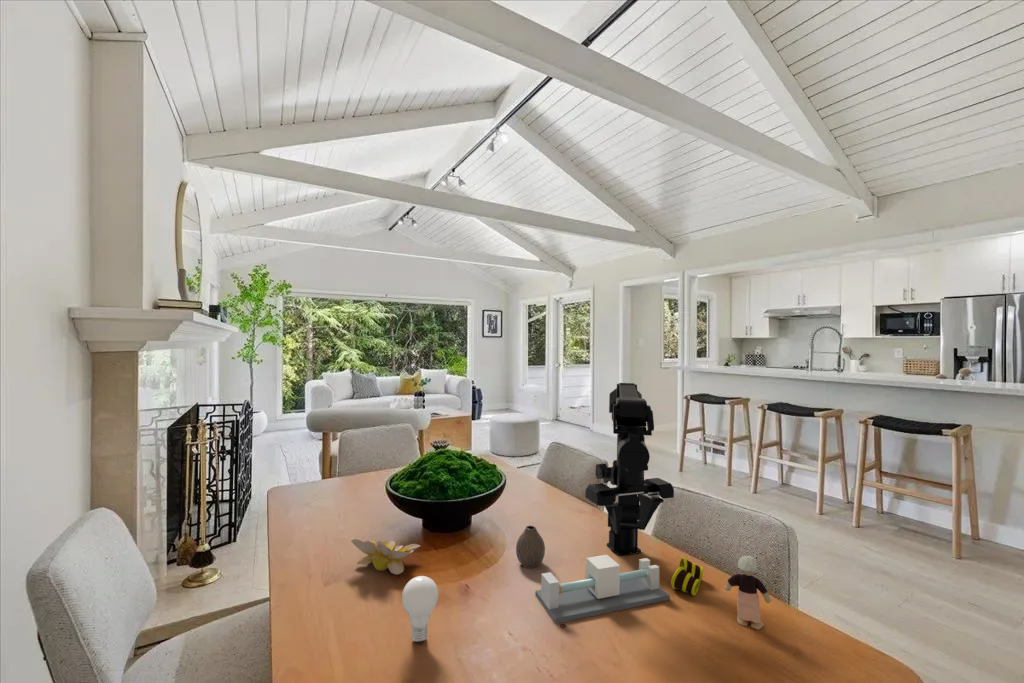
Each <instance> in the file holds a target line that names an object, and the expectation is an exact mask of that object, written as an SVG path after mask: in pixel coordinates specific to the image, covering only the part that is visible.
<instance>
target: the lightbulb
mask: <svg viewBox="0 0 1024 683" xmlns="http://www.w3.org/2000/svg"><path fill="white" fill-rule="evenodd" d="M438 600H439V588H438V585H437V584H436V582H435V581H434V580H433V579H432V578H431V577H428V576H426V575H417V576H415V577H413V578H412V579H410V580H408V582H407V583H406V584H405V586H404V587H403V590H402V594H401V604H402V607H403V609H404V610H405V612H406V613H407V615H408V617H409V620H410V625H411V639H412V641H414V642H416V643H421V642H423V641H426V639H427V637H428V623H429V621H430V616H431V613H432V612H433V610H434V609H435V608H436V606H437V603H438Z"/></svg>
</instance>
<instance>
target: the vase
mask: <svg viewBox="0 0 1024 683" xmlns="http://www.w3.org/2000/svg"><path fill="white" fill-rule="evenodd" d="M515 549H516V550H515V553H516V557H517V561H518V562H519V563H520V564H521V566H523V568H524V567H525V568H527V569H534V568H537V567H538V566H540V565H541V563H542V562H543V560H544V557H545V553H546V546H545V542H544V539H543V537H542V535H541V534H540V533H539V531H538V529H537V528H536V525H535V526H534V525H527V526H526V527H525V529H524V531H523V532H522V533H521V534H520V535H519V536H518V539H517V541H516V547H515Z"/></svg>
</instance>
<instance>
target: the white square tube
mask: <svg viewBox="0 0 1024 683" xmlns="http://www.w3.org/2000/svg"><path fill="white" fill-rule="evenodd" d="M585 562H586V563H585V579H591V578H594V579H595V587H591V588H588V589H589V590H590V591H591V592H592V593H593V594H594V595H595V596H596V597H597V598H598V599H600V598H605V597H610V596H615V595H619V587H620V573H621V570H620V568H621V565H620V564H619V563H618V562H616V560H614V559H613V558H611V556H609V555H608V554H603V555H597V556H589V557H586V558H585Z"/></svg>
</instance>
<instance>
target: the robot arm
mask: <svg viewBox="0 0 1024 683" xmlns="http://www.w3.org/2000/svg"><path fill="white" fill-rule="evenodd" d="M608 399H609V400H608V402H609V403H608V413H609V414H611V421H612V429H613V430H612V431H613V432H612V433H613V434H615V435H616V459H615V460H614V459H613V462H612V466H609V467H608V465H607V464H606V463H598V464H596V465H595V478H596V479H597V480H602V481H603V483H602V482H601V483H593V484H588V485H587V486H586V488H585V494H584V495H585V498H586V499H588V500H589V501H591V503H594V504H595V505H596V506H600V507H605V510H606V511H607V527H608V528H610V530H608V542H607V543H606V546H607V547H608V548H609V549H611V550H612V551H613V552H614V553H616V554H617V555H618V556H621V557H622V556H628V555H633V554H639V553H642V550H641V549H640V548H639V547H638V546H639V544H638V541H639V540H638V535H639V534H638V533H639V531H645V530H646V528H647V526H648V525H649V522H650V521H651V519H652V517H653V515H654V513H655V512H656V510H658V508H659V506H660V504H662V503H664V502H665V501H664V500H666V499H672V498H673V499H674V498H675V488H674V486H673V484H672V483H671V482H668V481H666V480H664V479H662V478H660V477H653V478H652V477H651V478H645V472H646V471H648V470H649V465H648V464H649V462H650V457H651V456H650V452H649V449H648V447H647V444H646V443H645V442H646V439H645V438H646V437H645V436H653V435H652V434H653V433H652V431H654V430H655V423H654V422H655V420H654V411H653V410H652V407H651V405H648V402H647V400H646V399H645V398H643V394H642V393H641V392H640V391H639V390H638V384H636V383H634V382H619V383H617V384H616V388H615V389H613V390H612V391H611V392H610V393H609V398H608ZM609 482H610V484H611V485H612V486H615V487H610V486H608V485H607V484H606V483H609Z"/></svg>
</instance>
